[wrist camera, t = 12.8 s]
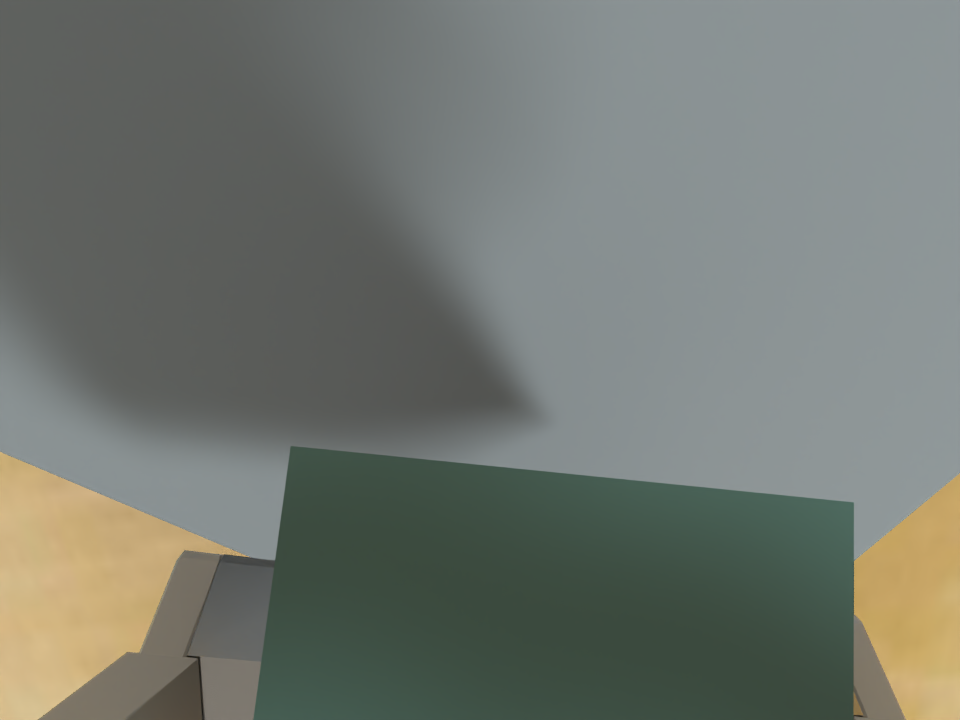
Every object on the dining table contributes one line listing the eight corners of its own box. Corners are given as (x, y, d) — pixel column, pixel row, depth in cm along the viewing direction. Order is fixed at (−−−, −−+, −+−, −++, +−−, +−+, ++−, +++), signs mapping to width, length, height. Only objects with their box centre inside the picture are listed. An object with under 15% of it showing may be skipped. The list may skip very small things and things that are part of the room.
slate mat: (1316, 140, 15) (1345, 152, 14) (650, 706, 23) (653, 726, 23) (199, -859, 9) (182, -895, 9) (-151, 363, 18) (-170, 380, 17)
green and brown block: (626, 753, 16) (853, 956, 8) (312, 728, 15) (226, 916, 8) (639, 523, 17) (853, 502, 9) (342, 494, 16) (290, 446, 8)
